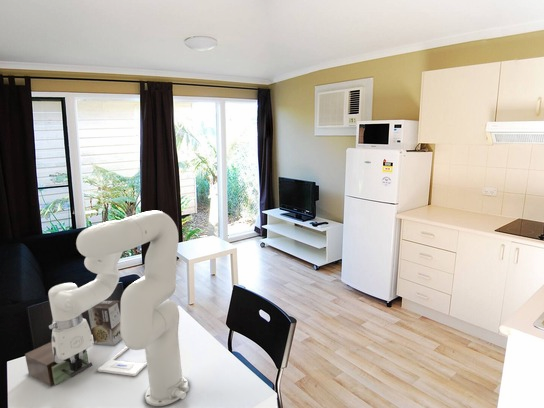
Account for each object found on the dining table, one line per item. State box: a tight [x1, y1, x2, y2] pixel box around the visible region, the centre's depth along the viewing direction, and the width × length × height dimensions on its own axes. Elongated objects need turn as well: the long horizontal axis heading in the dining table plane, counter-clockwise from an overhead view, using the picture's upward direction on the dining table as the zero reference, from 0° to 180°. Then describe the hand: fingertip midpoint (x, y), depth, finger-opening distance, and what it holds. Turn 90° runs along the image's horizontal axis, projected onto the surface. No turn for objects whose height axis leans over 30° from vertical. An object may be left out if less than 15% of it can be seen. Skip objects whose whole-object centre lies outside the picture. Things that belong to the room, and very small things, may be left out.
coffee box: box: [87, 299, 122, 346], centre depth 140 cm, size 9×6×16 cm
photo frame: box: [97, 345, 147, 377], centre depth 130 cm, size 15×1×18 cm
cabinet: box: [24, 341, 56, 387], centre depth 123 cm, size 14×12×8 cm
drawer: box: [50, 349, 94, 386], centre depth 121 cm, size 19×10×6 cm, turn 65°
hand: (76, 369), depth 118 cm, fingers closed
